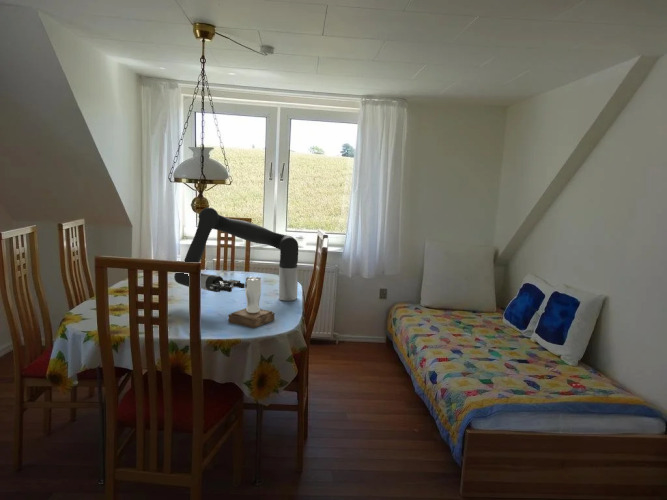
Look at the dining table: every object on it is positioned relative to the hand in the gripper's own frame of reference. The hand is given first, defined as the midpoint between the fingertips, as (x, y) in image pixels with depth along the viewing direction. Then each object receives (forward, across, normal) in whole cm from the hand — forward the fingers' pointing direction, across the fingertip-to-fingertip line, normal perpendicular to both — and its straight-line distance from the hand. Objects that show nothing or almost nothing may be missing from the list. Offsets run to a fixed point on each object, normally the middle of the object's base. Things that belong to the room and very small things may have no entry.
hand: (237, 287), depth 197 cm
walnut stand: (+8, 0, +14) cm, 16 cm away
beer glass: (+8, +1, +10) cm, 13 cm away
